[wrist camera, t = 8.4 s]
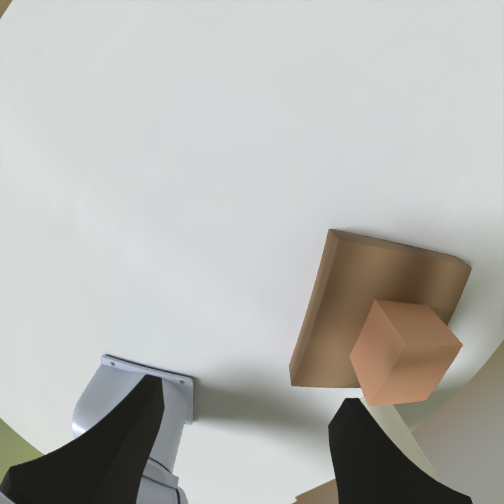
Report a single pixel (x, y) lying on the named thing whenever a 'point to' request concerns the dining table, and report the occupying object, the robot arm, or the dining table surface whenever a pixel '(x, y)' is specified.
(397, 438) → the foam cup
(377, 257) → the walnut plinth
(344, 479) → the robot arm
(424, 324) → the terracotta block
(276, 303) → the dining table surface
